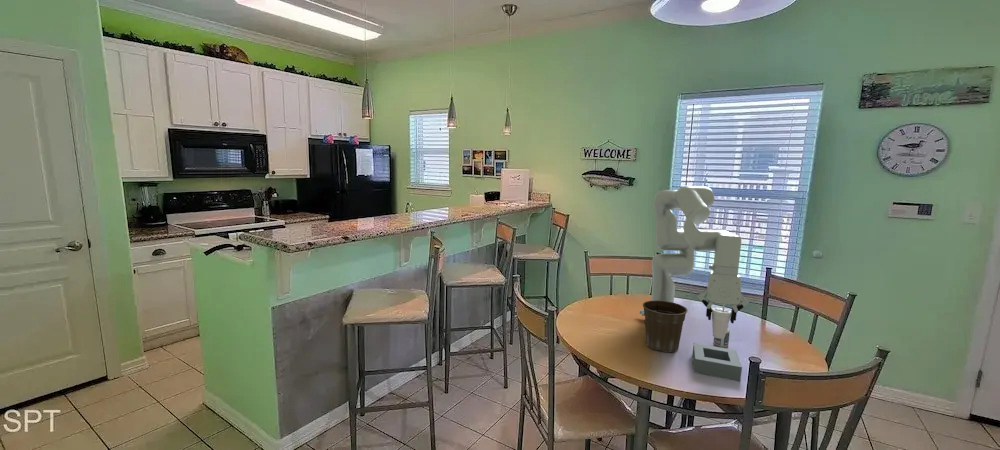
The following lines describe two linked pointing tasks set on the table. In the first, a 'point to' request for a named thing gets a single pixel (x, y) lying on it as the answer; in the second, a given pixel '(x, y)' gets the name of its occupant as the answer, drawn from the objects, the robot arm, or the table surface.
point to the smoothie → (720, 321)
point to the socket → (716, 362)
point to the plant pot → (663, 324)
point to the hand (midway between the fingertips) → (720, 320)
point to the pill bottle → (722, 340)
